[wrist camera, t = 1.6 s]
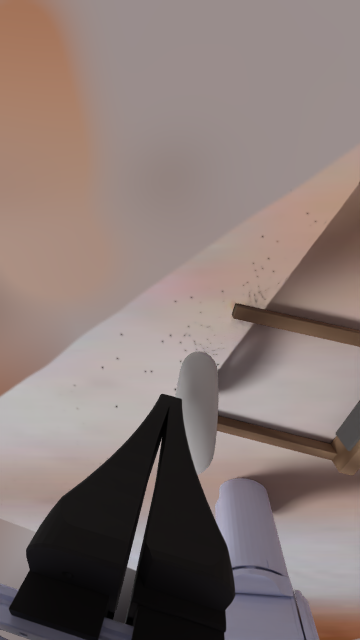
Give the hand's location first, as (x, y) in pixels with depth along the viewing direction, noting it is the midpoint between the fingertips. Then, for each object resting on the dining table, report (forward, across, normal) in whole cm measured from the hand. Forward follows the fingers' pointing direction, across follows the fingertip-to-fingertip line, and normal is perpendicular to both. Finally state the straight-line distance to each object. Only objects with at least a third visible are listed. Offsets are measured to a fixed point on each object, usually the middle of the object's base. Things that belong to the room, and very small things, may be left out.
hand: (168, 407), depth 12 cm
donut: (+10, -2, +4) cm, 11 cm away
